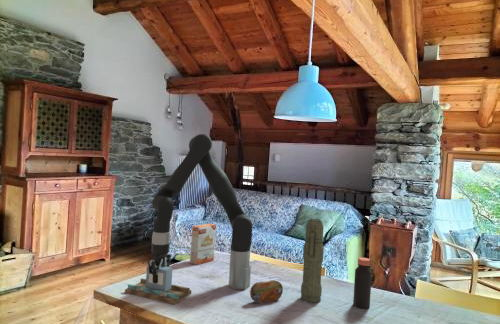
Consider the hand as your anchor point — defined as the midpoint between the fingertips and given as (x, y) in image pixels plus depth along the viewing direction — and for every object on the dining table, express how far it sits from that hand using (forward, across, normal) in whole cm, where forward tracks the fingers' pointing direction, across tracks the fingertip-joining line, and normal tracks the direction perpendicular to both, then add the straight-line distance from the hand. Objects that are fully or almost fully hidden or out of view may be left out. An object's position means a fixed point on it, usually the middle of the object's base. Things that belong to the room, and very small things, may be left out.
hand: (158, 280), depth 156 cm
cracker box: (+6, -50, -6) cm, 51 cm away
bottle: (+6, -30, +82) cm, 87 cm away
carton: (+3, 0, 0) cm, 3 cm away
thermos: (+6, -26, +61) cm, 67 cm away
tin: (+6, -15, +44) cm, 47 cm away
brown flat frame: (+5, 0, 0) cm, 5 cm away
